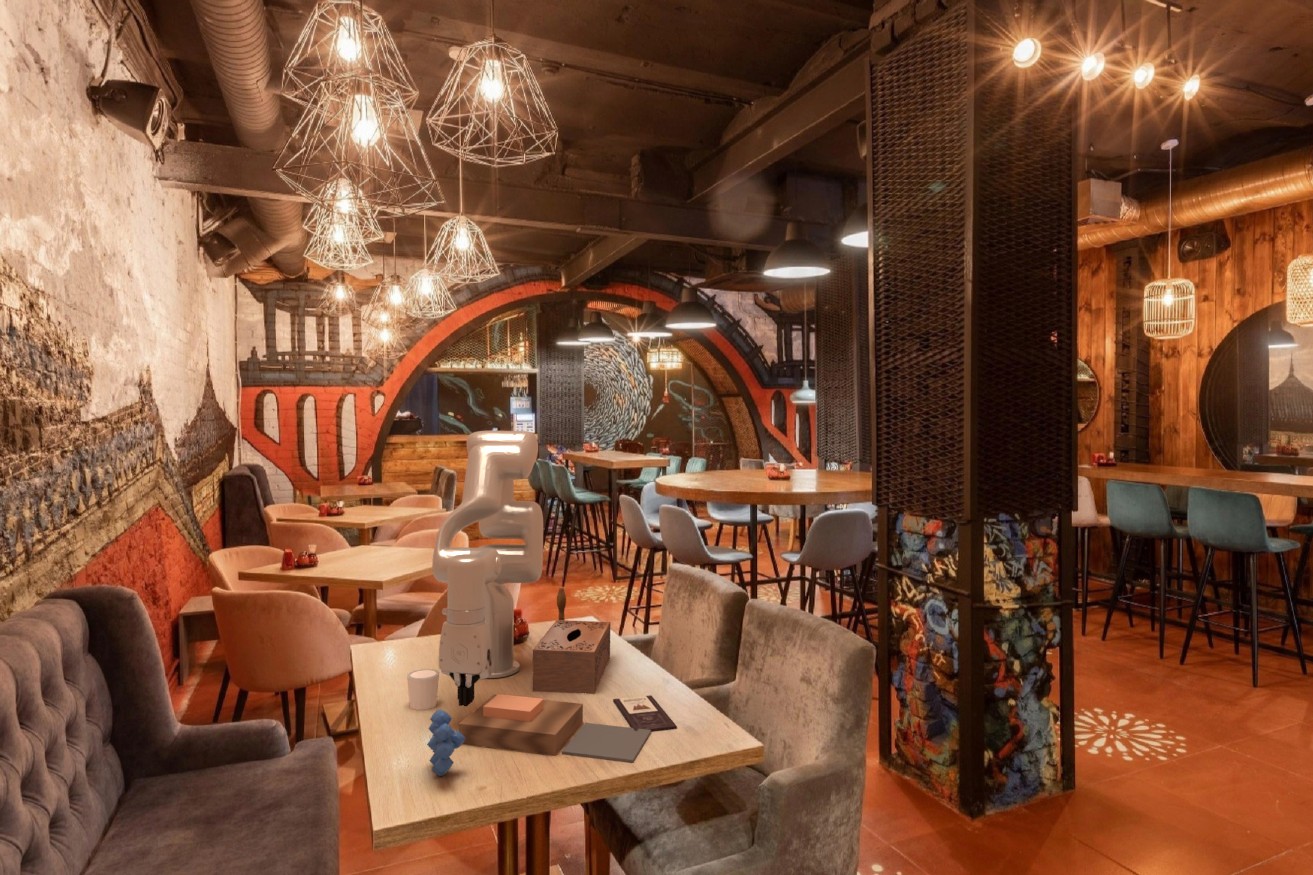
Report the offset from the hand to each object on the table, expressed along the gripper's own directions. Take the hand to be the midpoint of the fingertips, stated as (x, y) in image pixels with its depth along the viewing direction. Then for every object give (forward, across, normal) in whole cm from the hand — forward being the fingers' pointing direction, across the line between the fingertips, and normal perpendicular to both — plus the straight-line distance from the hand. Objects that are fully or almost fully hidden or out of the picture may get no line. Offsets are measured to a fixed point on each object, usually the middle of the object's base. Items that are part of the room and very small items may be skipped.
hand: (465, 703), depth 159 cm
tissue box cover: (+5, +10, +36) cm, 38 cm away
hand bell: (+5, -1, +57) cm, 57 cm away
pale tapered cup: (+5, -14, +8) cm, 17 cm away
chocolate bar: (+5, +34, +16) cm, 38 cm away
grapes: (+5, +7, -20) cm, 22 cm away
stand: (+5, +13, 0) cm, 13 cm away
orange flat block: (+1, +11, 0) cm, 11 cm away
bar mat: (+5, +31, 0) cm, 31 cm away
